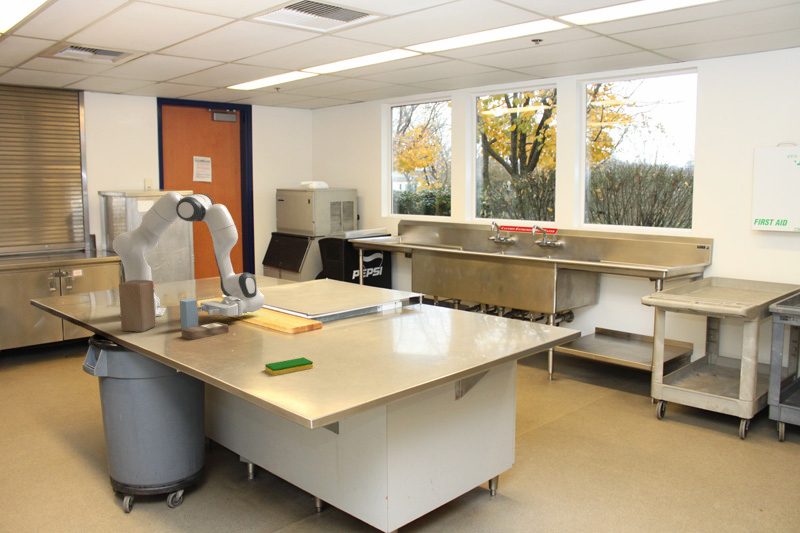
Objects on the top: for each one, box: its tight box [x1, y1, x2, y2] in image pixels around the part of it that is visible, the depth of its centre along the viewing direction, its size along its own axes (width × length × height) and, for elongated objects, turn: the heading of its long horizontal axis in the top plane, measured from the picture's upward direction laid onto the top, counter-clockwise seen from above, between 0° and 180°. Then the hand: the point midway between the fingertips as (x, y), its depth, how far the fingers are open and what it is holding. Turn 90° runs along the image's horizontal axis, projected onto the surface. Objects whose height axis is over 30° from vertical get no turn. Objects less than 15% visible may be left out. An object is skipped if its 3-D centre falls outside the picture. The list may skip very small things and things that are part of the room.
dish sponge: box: [264, 357, 314, 376], centre depth 207 cm, size 7×14×2 cm, turn 124°
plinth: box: [180, 321, 229, 341], centre depth 255 cm, size 16×8×3 cm, turn 138°
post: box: [179, 298, 199, 330], centre depth 264 cm, size 5×5×12 cm
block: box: [118, 280, 157, 333], centre depth 264 cm, size 10×10×20 cm
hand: (202, 311), depth 269 cm, fingers open, 8 cm apart
